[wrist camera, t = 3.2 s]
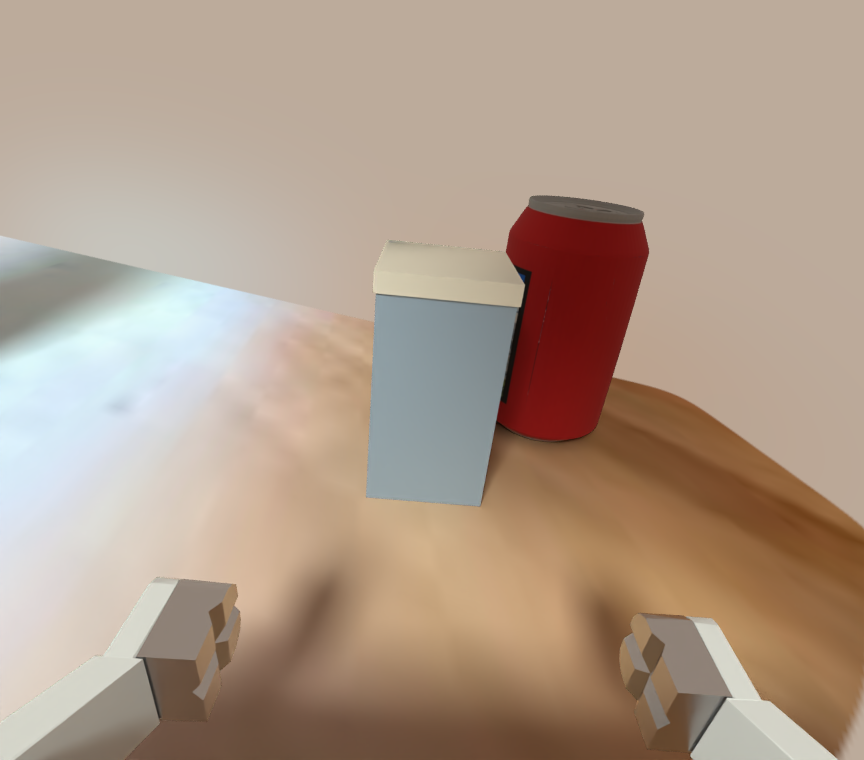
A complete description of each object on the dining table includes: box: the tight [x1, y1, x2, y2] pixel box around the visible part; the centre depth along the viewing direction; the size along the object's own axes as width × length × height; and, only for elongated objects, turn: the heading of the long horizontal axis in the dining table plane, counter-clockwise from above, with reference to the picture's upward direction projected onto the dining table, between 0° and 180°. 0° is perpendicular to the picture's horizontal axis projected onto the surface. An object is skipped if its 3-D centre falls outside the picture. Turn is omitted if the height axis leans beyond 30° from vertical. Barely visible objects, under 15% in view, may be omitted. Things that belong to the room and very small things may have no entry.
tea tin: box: [366, 240, 525, 506], centre depth 21 cm, size 5×5×10 cm
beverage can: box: [496, 196, 649, 442], centre depth 26 cm, size 7×7×12 cm
